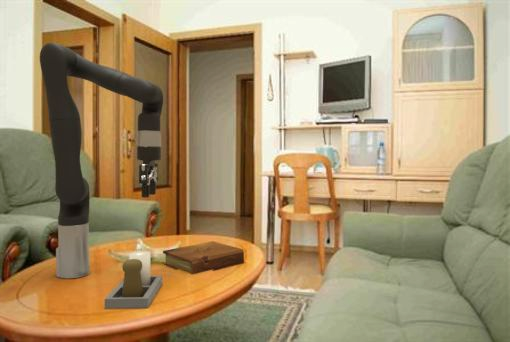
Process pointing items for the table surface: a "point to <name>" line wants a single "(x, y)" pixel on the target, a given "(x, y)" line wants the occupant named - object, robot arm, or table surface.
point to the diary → (203, 257)
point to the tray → (119, 302)
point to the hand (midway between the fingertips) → (148, 195)
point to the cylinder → (143, 265)
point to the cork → (132, 278)
